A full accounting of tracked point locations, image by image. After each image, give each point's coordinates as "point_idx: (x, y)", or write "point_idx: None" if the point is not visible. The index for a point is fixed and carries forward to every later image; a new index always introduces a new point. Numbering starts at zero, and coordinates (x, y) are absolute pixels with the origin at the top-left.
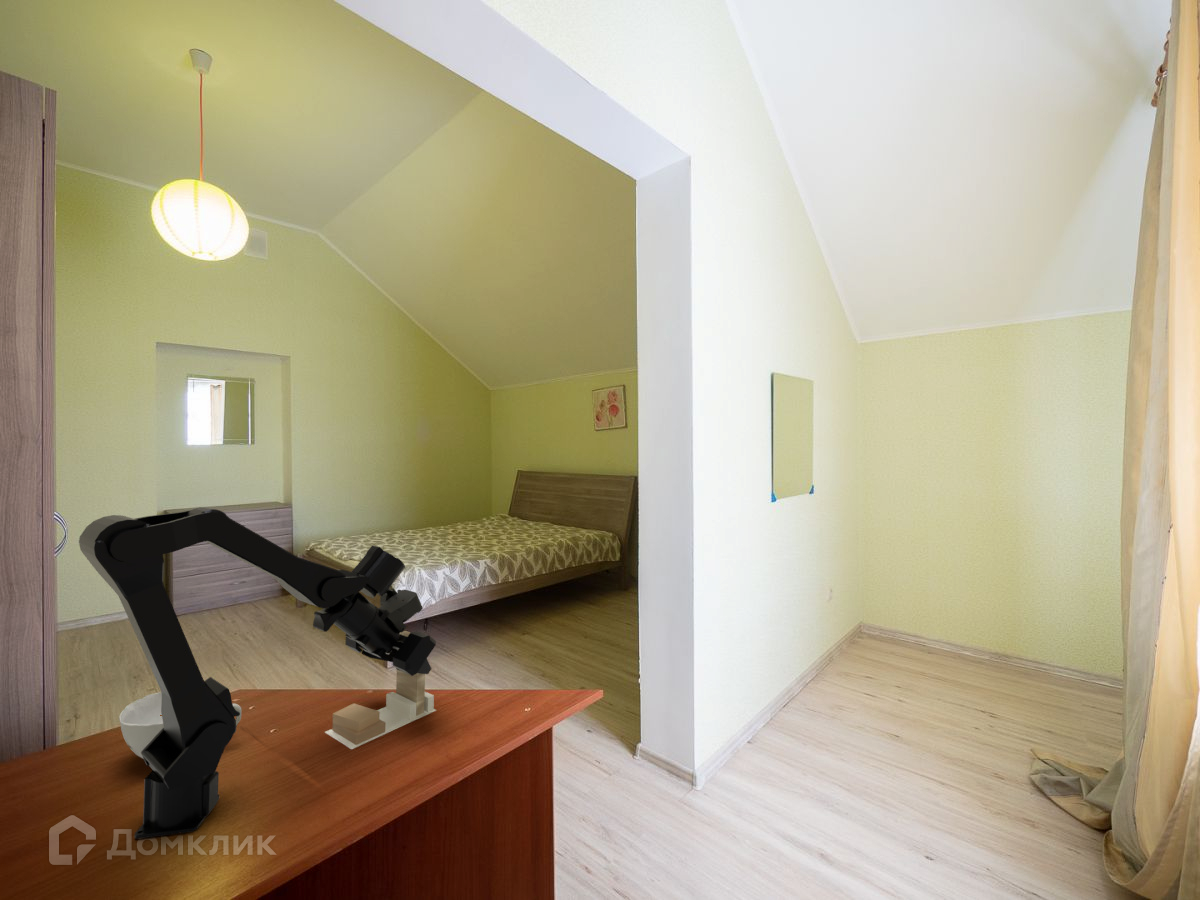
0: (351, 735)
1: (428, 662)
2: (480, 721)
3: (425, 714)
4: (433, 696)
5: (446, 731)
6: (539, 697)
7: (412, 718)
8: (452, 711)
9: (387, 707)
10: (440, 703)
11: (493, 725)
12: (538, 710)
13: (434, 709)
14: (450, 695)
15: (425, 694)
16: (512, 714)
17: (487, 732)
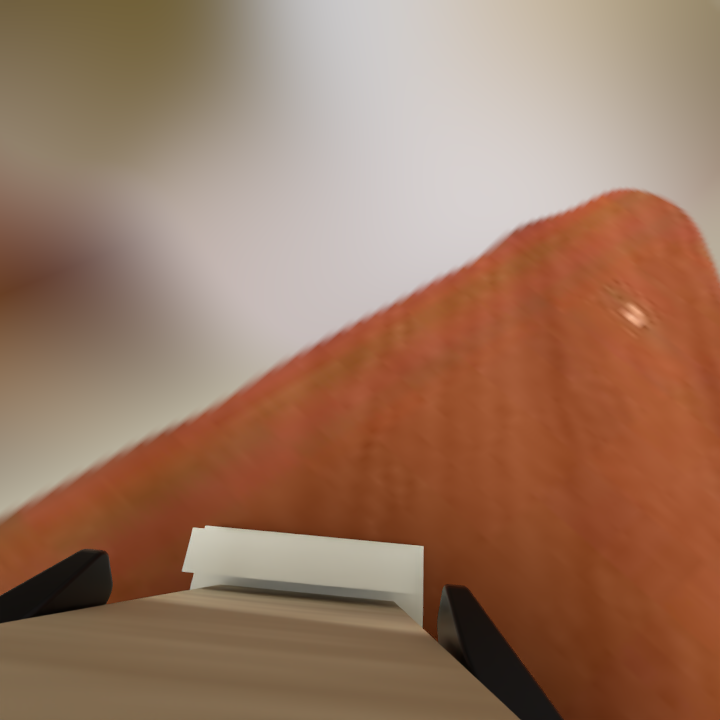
0: None
1: (539, 687)
2: (599, 472)
3: (417, 614)
4: (419, 552)
5: (574, 629)
6: (590, 243)
7: None
8: (442, 474)
9: None
10: (345, 451)
11: (662, 467)
12: (666, 304)
13: (412, 547)
14: (328, 381)
15: (369, 568)
16: (632, 367)
17: (698, 524)
